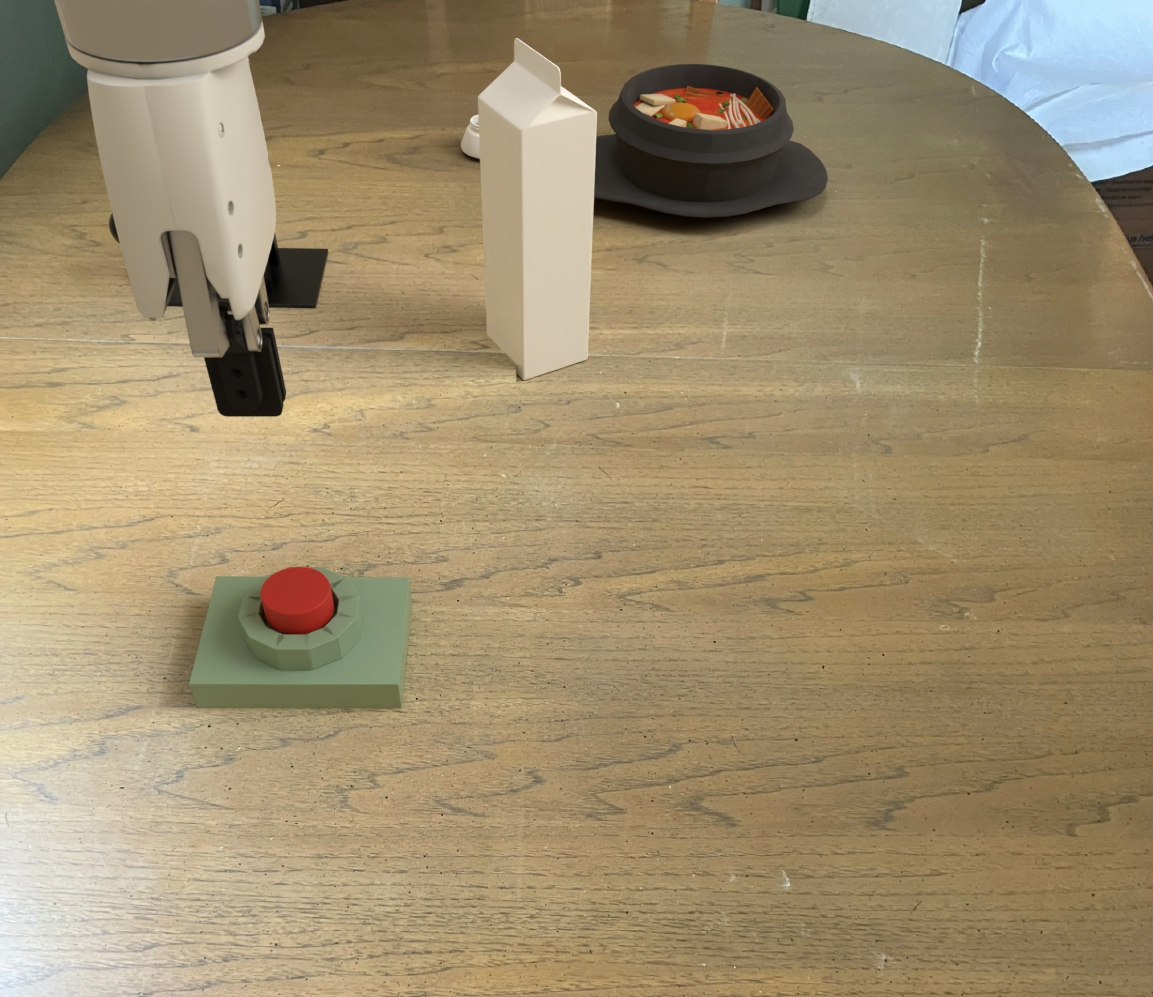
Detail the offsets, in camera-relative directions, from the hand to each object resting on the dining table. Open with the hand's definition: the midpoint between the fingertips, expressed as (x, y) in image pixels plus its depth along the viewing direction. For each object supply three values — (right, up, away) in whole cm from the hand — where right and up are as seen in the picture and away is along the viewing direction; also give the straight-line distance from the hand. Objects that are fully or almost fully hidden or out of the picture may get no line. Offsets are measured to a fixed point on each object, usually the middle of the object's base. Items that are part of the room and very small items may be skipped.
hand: (253, 406), depth 58 cm
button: (0, -9, +10) cm, 13 cm away
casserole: (+28, +36, +52) cm, 69 cm away
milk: (+13, +14, +34) cm, 39 cm away
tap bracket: (-11, +21, +38) cm, 45 cm away
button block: (0, -12, +12) cm, 17 cm away
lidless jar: (+7, +41, +56) cm, 70 cm away
